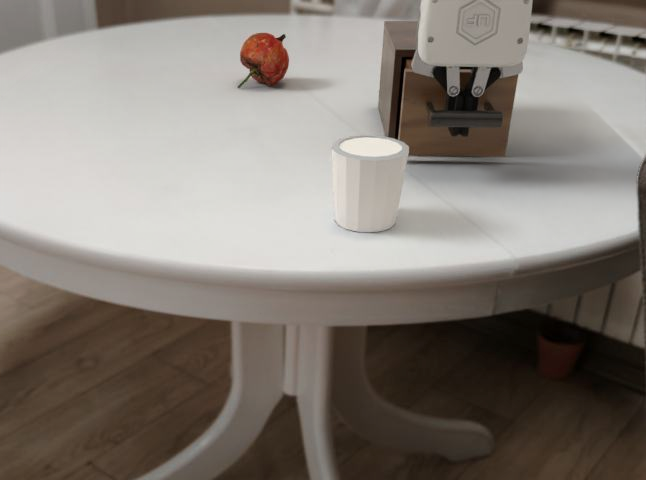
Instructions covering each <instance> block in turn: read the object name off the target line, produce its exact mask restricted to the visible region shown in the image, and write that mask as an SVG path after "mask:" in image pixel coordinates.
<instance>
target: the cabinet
mask: <svg viewBox="0 0 646 480" xmlns="http://www.w3.org/2000/svg"><path fill="white" fill-rule="evenodd" d="M417 25H418V20H384V22H383V36H382V49H381V61H380V75H379V89H378V101H377V108H378V112H379V117H380V120H381V124H382V125H381V126H382V128H383V133H384V137H389V138H394V139H396V140H398V135H399V131H398V127H397V124H396V121H397V109H398V98H399V86H400V75H401V63H402V57H414V54H415V51H416V34H417Z"/></svg>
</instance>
